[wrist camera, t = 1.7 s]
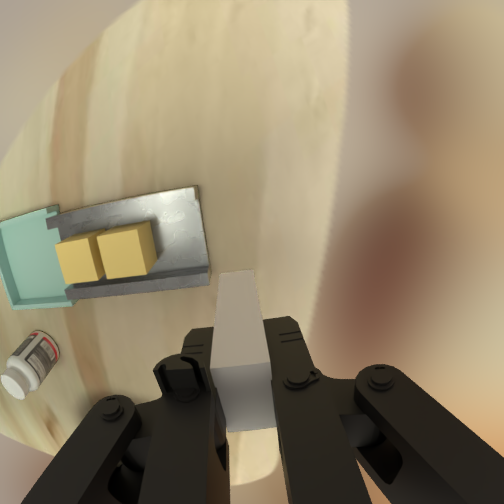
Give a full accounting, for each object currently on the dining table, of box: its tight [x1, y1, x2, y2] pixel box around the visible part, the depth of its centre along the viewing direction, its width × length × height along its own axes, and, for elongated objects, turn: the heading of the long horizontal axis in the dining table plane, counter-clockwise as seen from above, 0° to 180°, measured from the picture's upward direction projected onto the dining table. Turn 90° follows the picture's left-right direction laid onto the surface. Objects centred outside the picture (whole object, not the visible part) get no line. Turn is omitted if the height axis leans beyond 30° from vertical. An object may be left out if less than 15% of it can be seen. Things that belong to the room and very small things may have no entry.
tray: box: [0, 205, 79, 310], centre depth 27 cm, size 11×11×2 cm
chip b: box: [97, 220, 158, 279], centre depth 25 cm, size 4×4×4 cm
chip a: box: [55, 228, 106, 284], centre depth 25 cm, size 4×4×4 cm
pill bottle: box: [1, 331, 59, 400], centre depth 27 cm, size 5×5×10 cm
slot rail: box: [45, 185, 212, 300], centre depth 27 cm, size 16×9×3 cm, turn 97°
